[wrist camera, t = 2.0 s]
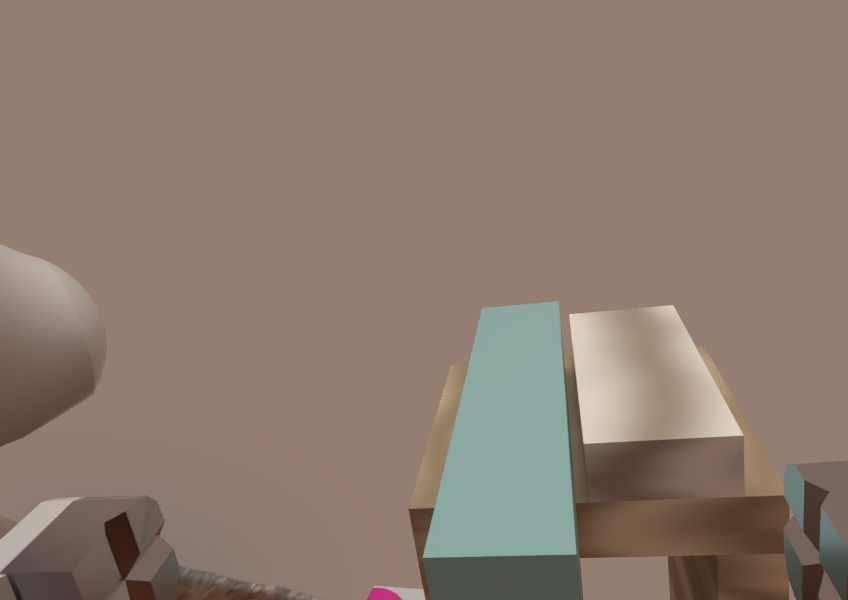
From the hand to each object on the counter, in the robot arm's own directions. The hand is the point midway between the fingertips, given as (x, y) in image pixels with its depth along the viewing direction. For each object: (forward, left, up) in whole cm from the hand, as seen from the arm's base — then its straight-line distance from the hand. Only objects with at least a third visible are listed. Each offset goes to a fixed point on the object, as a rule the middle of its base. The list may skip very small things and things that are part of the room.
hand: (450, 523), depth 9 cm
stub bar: (-1, +18, -10) cm, 20 cm away
